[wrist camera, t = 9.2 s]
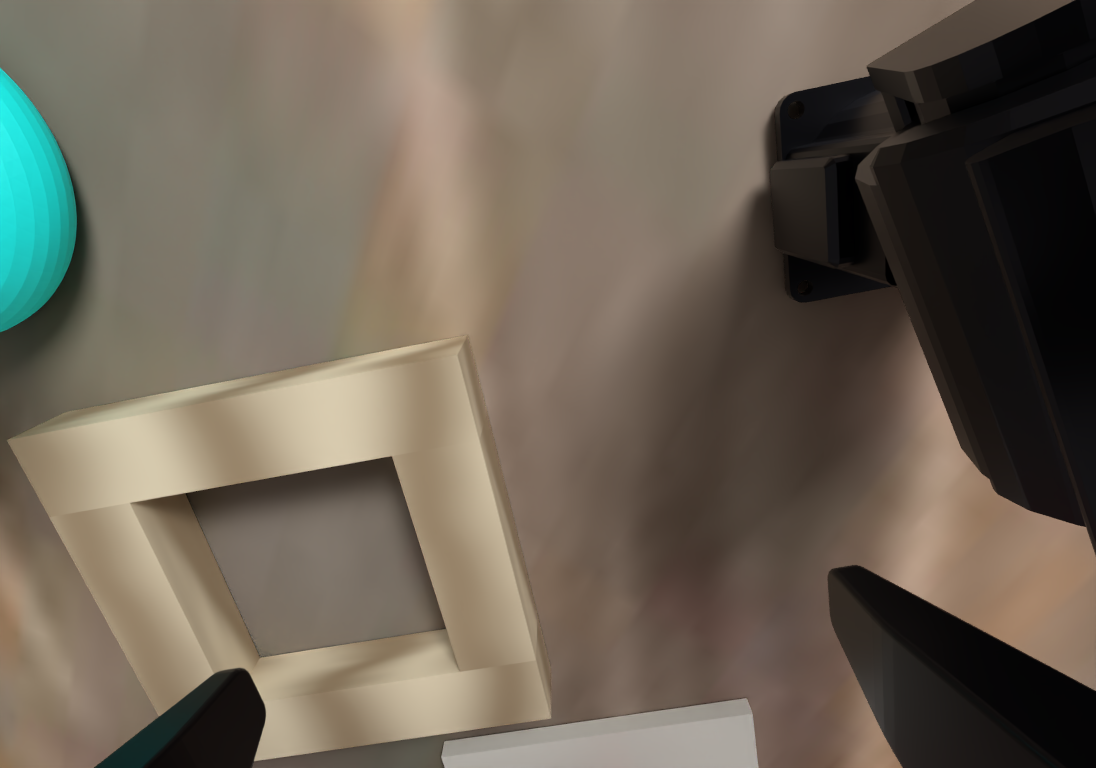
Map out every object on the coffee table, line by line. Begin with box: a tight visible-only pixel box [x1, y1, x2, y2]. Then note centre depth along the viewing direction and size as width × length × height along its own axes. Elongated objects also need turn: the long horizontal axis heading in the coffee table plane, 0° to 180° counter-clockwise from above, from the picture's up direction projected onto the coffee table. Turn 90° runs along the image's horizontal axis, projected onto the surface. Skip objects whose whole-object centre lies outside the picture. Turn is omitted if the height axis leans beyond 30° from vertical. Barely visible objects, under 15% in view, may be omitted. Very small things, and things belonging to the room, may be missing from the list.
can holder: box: [7, 335, 551, 761], centre depth 22 cm, size 15×15×2 cm
